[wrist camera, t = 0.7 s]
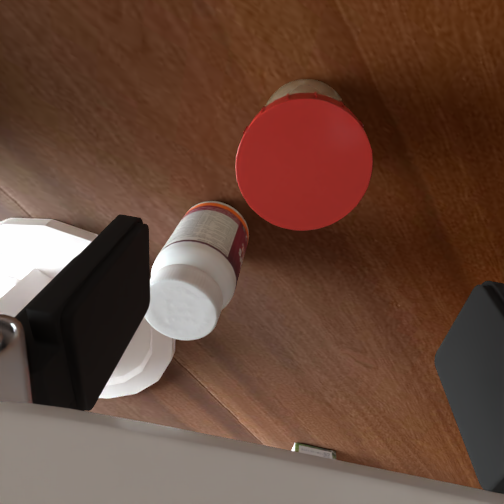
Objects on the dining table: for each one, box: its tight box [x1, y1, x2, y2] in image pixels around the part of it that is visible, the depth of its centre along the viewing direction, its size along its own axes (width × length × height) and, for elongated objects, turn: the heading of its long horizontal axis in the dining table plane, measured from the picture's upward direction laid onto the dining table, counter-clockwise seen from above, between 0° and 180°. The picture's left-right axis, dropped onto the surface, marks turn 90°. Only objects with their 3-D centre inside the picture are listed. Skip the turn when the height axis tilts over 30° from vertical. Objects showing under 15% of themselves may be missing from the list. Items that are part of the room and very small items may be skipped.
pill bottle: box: [144, 201, 249, 340], centre depth 28 cm, size 6×6×11 cm
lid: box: [236, 92, 373, 230], centre depth 20 cm, size 7×7×2 cm
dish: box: [0, 218, 176, 399], centre depth 37 cm, size 25×25×11 cm
